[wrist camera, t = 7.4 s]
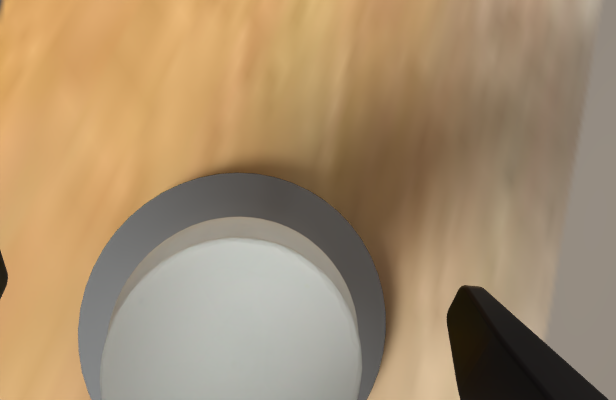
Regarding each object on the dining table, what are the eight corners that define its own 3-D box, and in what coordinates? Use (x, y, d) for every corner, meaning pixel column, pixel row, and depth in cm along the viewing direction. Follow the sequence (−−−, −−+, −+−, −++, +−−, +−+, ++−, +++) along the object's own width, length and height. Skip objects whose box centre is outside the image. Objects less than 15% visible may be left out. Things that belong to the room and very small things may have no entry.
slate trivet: (369, 479, 17) (377, 492, 16) (62, 468, 15) (49, 481, 14) (385, 194, 19) (393, 189, 18) (115, 163, 17) (107, 156, 16)
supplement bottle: (131, 322, 15) (-45, 393, 6) (235, 209, 17) (220, 124, 7) (247, 423, 15) (247, 652, 6) (342, 303, 17) (467, 339, 7)
